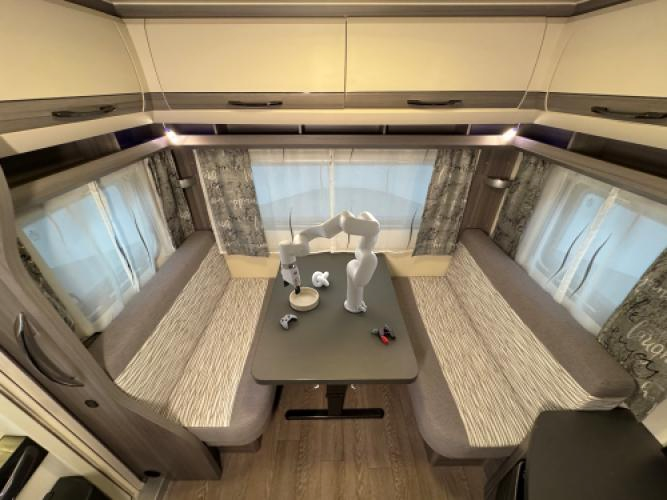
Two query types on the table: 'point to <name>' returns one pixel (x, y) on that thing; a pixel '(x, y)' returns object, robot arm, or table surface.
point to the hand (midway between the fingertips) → (292, 289)
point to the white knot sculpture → (320, 279)
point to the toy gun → (384, 333)
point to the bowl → (304, 299)
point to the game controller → (287, 320)
